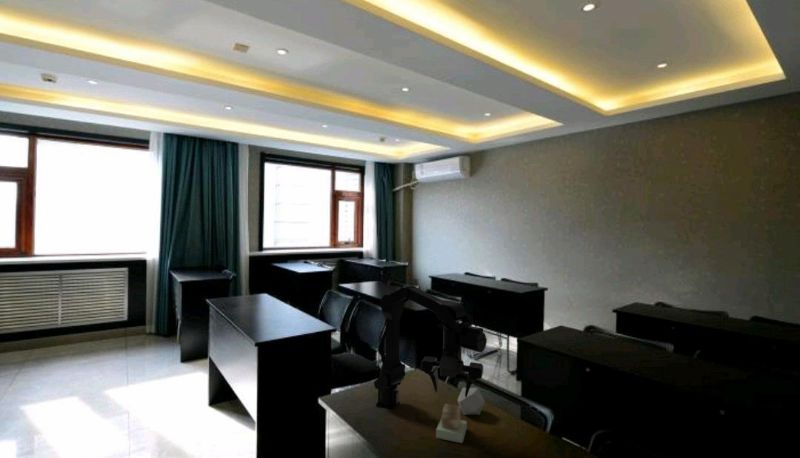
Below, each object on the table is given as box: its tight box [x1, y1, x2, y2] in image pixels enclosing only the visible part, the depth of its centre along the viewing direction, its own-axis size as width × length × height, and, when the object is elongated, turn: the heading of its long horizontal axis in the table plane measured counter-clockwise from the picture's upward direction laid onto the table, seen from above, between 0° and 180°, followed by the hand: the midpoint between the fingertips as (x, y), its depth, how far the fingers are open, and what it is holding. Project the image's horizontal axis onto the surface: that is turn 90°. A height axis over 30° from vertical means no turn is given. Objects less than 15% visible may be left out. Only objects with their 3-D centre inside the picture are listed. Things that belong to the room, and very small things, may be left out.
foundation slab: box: [435, 416, 468, 444], centre depth 116 cm, size 8×8×3 cm
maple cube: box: [441, 403, 462, 430], centre depth 117 cm, size 5×5×5 cm
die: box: [457, 387, 486, 416], centre depth 129 cm, size 8×9×10 cm
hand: (451, 394), depth 117 cm, fingers open, 9 cm apart
